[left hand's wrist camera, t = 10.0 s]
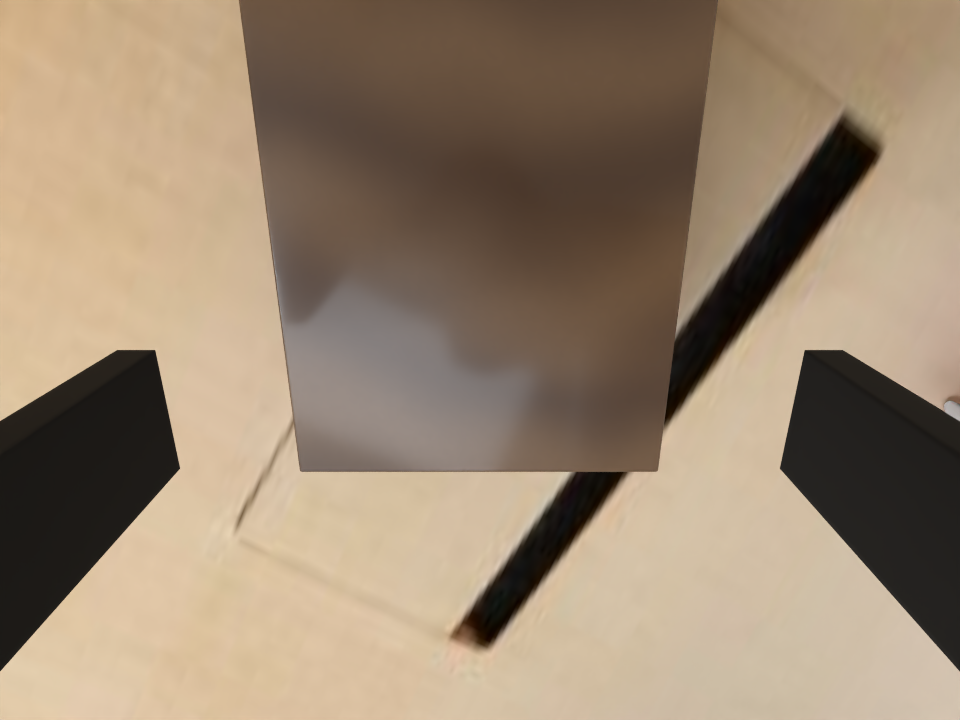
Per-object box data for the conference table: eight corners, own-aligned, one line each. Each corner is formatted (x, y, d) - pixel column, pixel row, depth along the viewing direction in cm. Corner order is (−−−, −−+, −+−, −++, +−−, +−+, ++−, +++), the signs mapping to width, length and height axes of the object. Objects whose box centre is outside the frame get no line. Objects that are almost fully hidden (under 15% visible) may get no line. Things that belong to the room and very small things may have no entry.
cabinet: (317, -163, 21) (186, -391, 11) (640, -163, 21) (769, -391, 11) (358, 357, 28) (299, 472, 19) (599, 357, 28) (658, 472, 19)
